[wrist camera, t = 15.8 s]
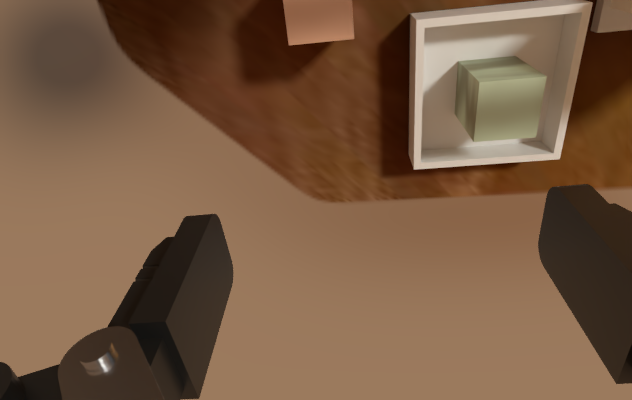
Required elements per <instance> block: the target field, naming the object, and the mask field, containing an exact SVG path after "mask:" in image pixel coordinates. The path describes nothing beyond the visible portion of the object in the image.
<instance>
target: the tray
mask: <svg viewBox="0 0 632 400" xmlns="http://www.w3.org/2000/svg"><path fill="white" fill-rule="evenodd" d="M592 4H593V2H590V1H586V0H539V1H529V2H519V3H509V4H499V5H490V6H480V7H470V8H460V9H450V10H440V11H430V12H420V13H410V59H409V147H408V155H409V158H410V160H411V163H412V166H413V169H414V170H416V169H430V168H444V167H458V166H472V165H486V164H500V163H513V162H527V161H541V160H555V159H560V156H561V151H562V146H563V141H564V137H565V132H566V127H567V123H568V118H569V113H570V108H571V104H572V99H573V94H574V89H575V85H576V80H577V75H578V71H579V66H580V61H581V56H582V52H583V47H584V42H585V38H586V33H587V28H588V23H589V19H590V14H591V9H592ZM509 56H516V57H518V58H519V59H521V60H522V61H524V62H525V63H527V64H528V65H530V66H532V67H533V68H535V69H536V70H538V71H539V72H541V73H542V74H544V75H545V76H547V78H546V84H545V90H544V95H543V101H542V107H541V112H540V118H539V124H538V129H537V135H536V137H534V138H520V139H507V140H494V141H480V142H473V140H472V139H471V137H470V136H469V134H468V133H467V132H466V130H465V129H464V127H463V126H462V124H461V123H460V121H459V120H458V118H457V117H456V115H455V99H456V85H457V71H458V61H465V60H476V59H487V58H498V57H509Z"/></svg>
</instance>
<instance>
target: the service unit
mask: <svg viewBox="0 0 632 400" xmlns="http://www.w3.org/2000/svg"><path fill="white" fill-rule="evenodd" d="M624 30H632V0H597V2H596V7H595V12H594V16H593V21H592V26H591V30H590V31H593V32H596V33H602V32H613V31H624Z"/></svg>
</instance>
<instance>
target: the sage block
mask: <svg viewBox="0 0 632 400" xmlns="http://www.w3.org/2000/svg"><path fill="white" fill-rule="evenodd" d="M546 78H547V76H545V75H544V74H542V73H541V72H539V71H538V70H536V69H535V68H533V67H532V66H530V65H528V64H527V63H525V62H524V61H522V60H521V59H519V58H518V57H516V56H509V57H498V58H487V59H476V60H465V61H458V71H457V85H456V99H455V115H456V117H457V118H458V120H459V121H460V123H461V124H462V126H463V127H464V129H465V130H466V132H467V133H468V134H469V136H470V137H471V139H472V140H473V142H480V141H494V140H507V139H520V138H534V137H536V135H537V129H538V124H539V118H540V112H541V107H542V101H543V95H544V90H545V84H546Z"/></svg>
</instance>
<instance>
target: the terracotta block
mask: <svg viewBox="0 0 632 400" xmlns="http://www.w3.org/2000/svg"><path fill="white" fill-rule="evenodd" d="M283 5H284V13H285V20H286V28H287V36H288V43H289V45H299V44H309V43H319V42H328V41H338V40H348V39H354V27H353V9H352V0H283Z"/></svg>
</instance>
